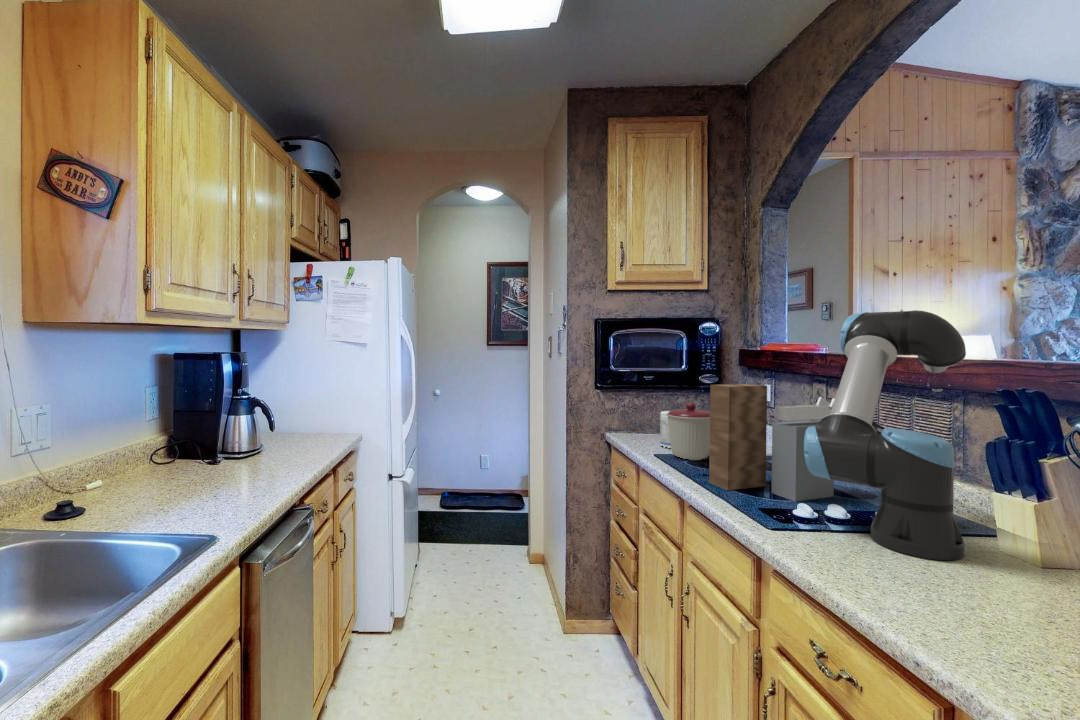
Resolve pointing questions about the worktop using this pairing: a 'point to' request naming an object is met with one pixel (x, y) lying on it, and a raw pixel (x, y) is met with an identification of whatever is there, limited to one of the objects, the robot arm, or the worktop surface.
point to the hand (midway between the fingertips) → (825, 401)
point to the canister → (689, 432)
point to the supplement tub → (664, 429)
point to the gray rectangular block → (795, 464)
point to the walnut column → (738, 436)
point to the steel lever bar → (803, 412)
